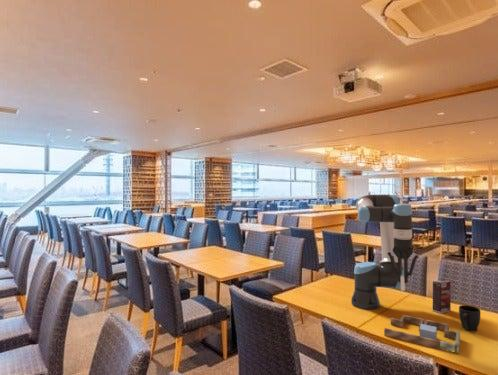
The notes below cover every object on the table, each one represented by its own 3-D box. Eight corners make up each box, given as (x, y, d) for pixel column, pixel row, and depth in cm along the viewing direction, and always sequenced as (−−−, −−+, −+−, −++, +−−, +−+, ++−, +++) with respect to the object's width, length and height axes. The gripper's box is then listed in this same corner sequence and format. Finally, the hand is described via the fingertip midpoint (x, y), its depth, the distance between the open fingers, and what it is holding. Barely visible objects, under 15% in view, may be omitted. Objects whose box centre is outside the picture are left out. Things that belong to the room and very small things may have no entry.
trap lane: (384, 335, 143) (384, 327, 143) (394, 318, 161) (394, 311, 161) (458, 353, 127) (458, 344, 127) (460, 333, 145) (460, 325, 144)
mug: (453, 331, 147) (453, 310, 147) (462, 323, 155) (462, 303, 155) (475, 337, 141) (474, 315, 141) (482, 329, 148) (482, 308, 148)
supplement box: (441, 314, 166) (440, 283, 166) (432, 310, 170) (431, 281, 170) (451, 311, 170) (451, 281, 170) (442, 308, 174) (442, 278, 174)
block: (419, 340, 139) (419, 328, 139) (421, 334, 144) (421, 323, 144) (435, 344, 135) (435, 332, 135) (436, 338, 140) (436, 327, 140)
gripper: (385, 238, 146) (385, 289, 146) (417, 240, 138) (417, 295, 138) (389, 235, 152) (389, 285, 152) (420, 238, 144) (420, 290, 145)
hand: (403, 289), depth 145 cm, fingers closed
